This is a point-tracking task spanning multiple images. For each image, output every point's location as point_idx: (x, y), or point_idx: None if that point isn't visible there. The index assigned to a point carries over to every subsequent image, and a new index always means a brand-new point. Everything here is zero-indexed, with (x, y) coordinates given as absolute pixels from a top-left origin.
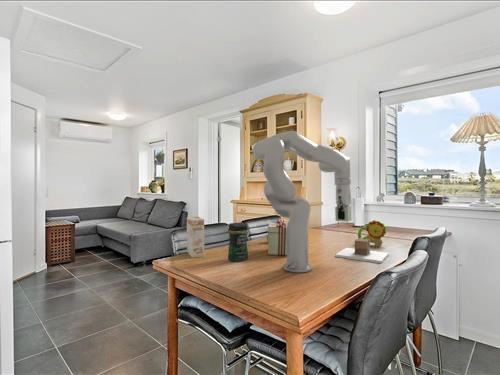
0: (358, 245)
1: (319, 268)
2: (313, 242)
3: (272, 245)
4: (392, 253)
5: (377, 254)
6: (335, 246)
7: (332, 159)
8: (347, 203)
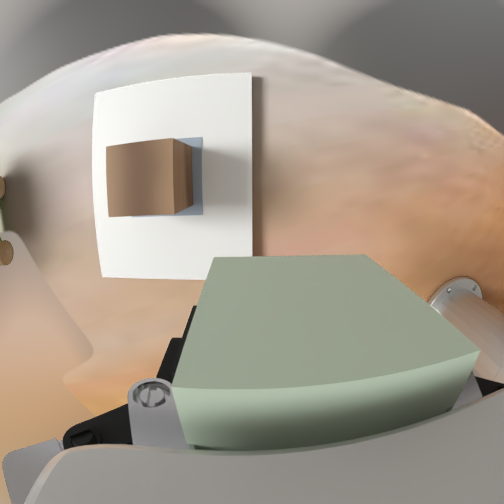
0: (180, 188)
1: (432, 265)
2: (96, 398)
3: None
4: (66, 99)
5: (140, 117)
6: (87, 325)
7: None
8: (495, 420)
